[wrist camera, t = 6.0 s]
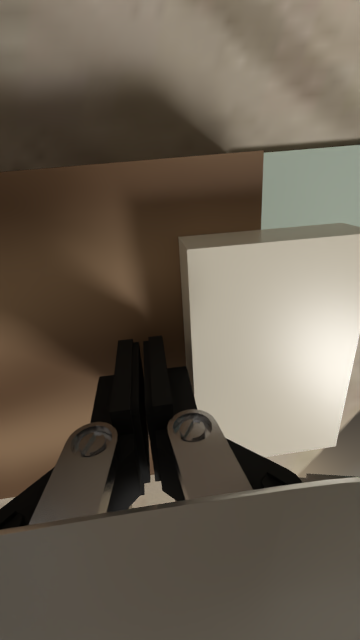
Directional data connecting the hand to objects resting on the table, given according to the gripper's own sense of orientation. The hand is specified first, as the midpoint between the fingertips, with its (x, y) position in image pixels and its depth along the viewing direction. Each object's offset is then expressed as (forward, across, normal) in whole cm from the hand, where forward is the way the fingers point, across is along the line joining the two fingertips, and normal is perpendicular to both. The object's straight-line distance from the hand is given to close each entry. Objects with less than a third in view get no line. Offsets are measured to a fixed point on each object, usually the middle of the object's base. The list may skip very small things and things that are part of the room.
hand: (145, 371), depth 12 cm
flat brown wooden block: (+5, +2, 0) cm, 5 cm away
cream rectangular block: (+1, -5, 0) cm, 5 cm away
